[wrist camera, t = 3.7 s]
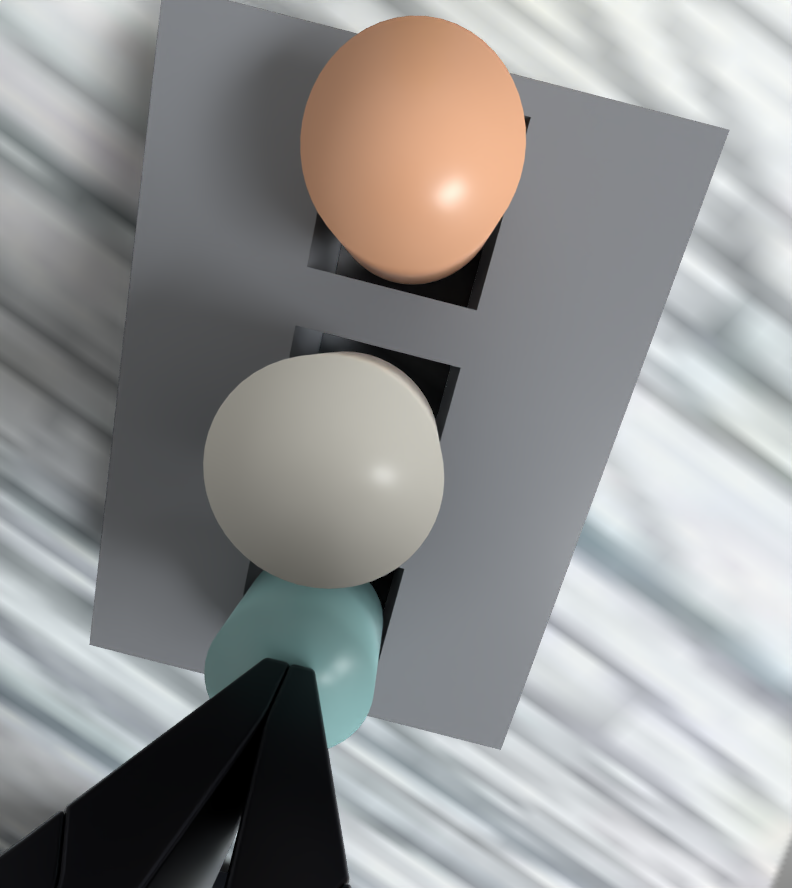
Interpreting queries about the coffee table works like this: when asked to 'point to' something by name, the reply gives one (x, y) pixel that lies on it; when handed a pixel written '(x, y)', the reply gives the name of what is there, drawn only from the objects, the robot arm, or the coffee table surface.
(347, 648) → the light blue egg
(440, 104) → the peach orange egg
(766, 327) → the coffee table surface
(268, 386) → the cream white egg
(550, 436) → the panel
